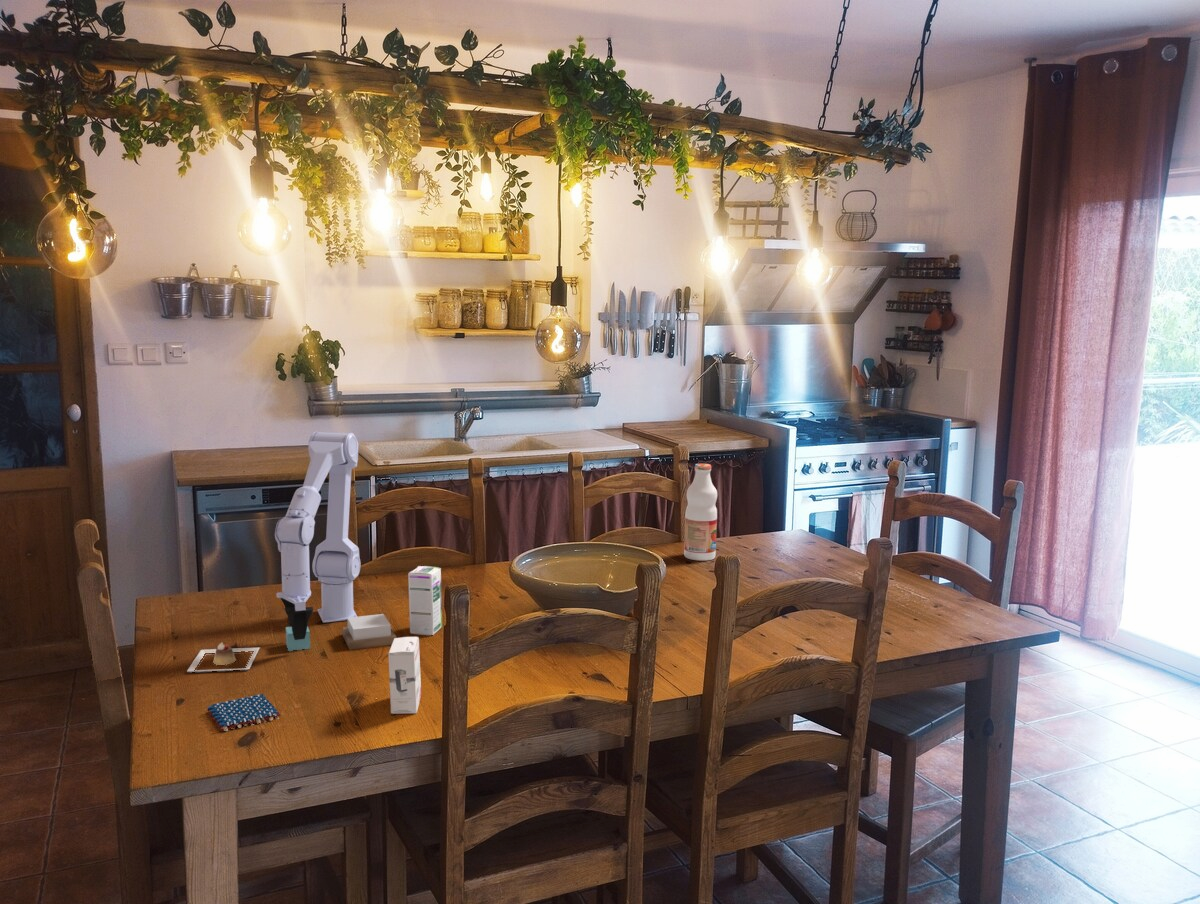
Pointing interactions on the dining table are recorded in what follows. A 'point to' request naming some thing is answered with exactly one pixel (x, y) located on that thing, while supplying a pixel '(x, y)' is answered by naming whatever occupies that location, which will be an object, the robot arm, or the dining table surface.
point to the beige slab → (366, 640)
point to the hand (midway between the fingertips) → (297, 633)
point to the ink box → (404, 675)
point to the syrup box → (425, 600)
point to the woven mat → (242, 712)
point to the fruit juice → (701, 516)
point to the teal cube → (297, 644)
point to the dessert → (222, 657)
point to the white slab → (369, 627)
